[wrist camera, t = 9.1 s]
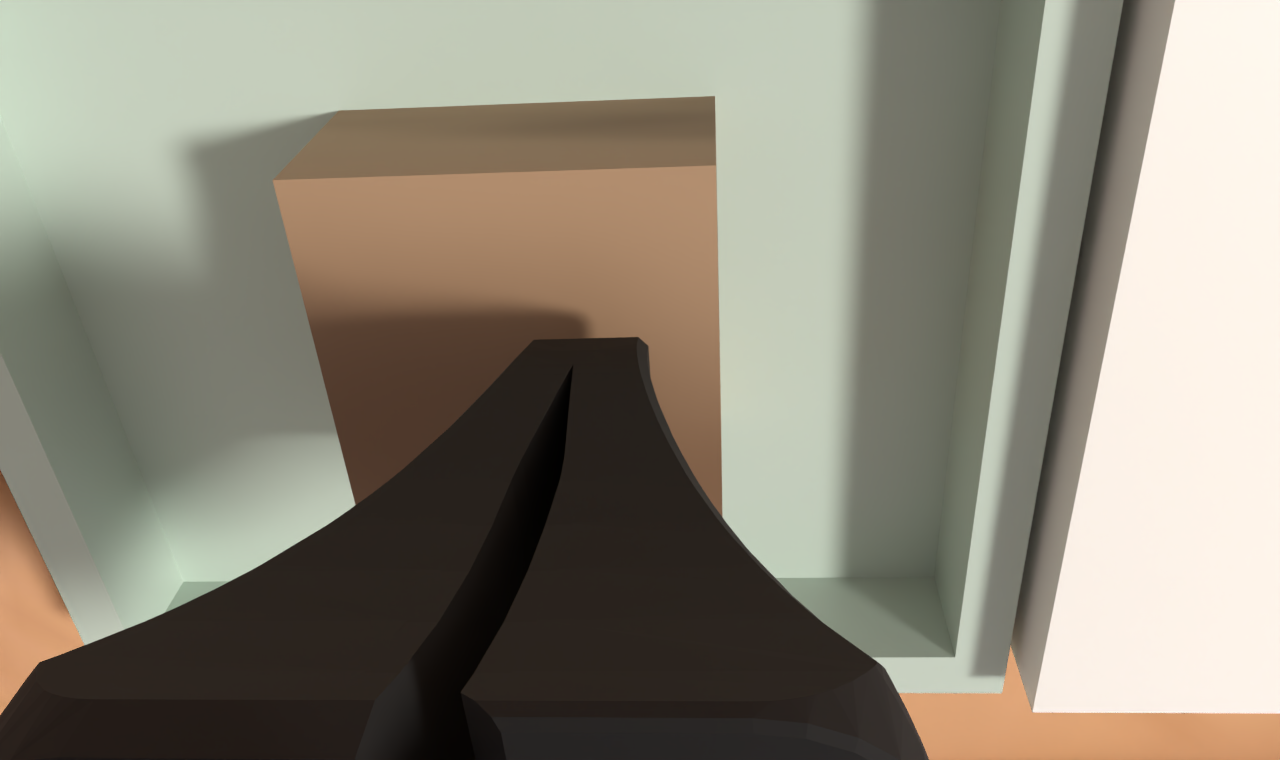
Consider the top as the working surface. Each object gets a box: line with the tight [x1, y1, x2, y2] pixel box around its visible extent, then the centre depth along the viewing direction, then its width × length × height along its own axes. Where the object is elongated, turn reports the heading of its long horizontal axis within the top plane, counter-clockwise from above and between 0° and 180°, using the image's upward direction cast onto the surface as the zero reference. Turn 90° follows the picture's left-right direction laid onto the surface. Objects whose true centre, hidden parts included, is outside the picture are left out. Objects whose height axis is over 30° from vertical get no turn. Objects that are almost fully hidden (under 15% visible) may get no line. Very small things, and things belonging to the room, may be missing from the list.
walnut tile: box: [273, 96, 722, 516], centre depth 14 cm, size 5×5×2 cm
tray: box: [0, 0, 1124, 693], centre depth 15 cm, size 13×15×2 cm
